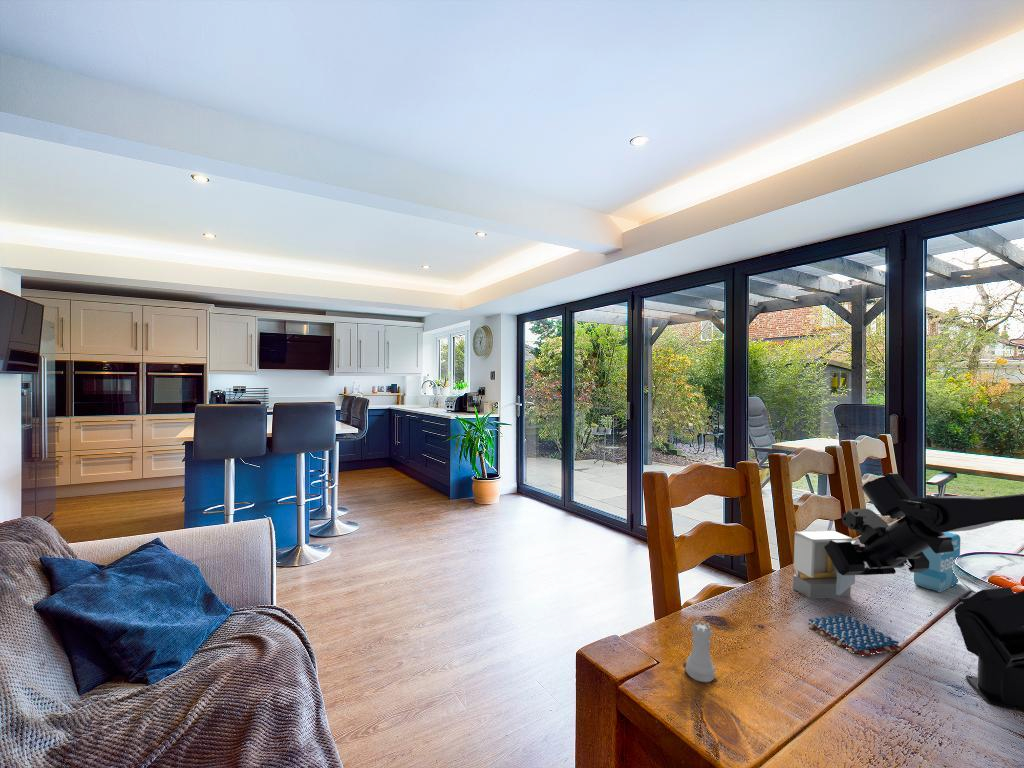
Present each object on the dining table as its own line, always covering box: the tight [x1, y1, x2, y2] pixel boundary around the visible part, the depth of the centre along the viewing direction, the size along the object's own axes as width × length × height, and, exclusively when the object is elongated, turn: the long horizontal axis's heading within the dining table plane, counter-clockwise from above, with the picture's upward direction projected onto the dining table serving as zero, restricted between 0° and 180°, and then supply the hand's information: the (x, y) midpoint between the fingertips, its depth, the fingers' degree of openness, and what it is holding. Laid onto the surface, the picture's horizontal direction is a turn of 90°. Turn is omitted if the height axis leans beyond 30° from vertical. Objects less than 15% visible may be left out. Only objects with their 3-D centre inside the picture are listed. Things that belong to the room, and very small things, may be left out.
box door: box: [836, 540, 857, 595], centre depth 98 cm, size 1×10×9 cm, turn 129°
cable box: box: [792, 530, 853, 600], centre depth 103 cm, size 5×10×13 cm, turn 99°
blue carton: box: [913, 532, 961, 593], centre depth 109 cm, size 12×4×12 cm, turn 119°
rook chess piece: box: [685, 620, 716, 683], centre depth 73 cm, size 4×4×8 cm
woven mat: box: [807, 613, 902, 657], centre depth 85 cm, size 10×11×2 cm
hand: (848, 572), depth 95 cm, fingers closed
